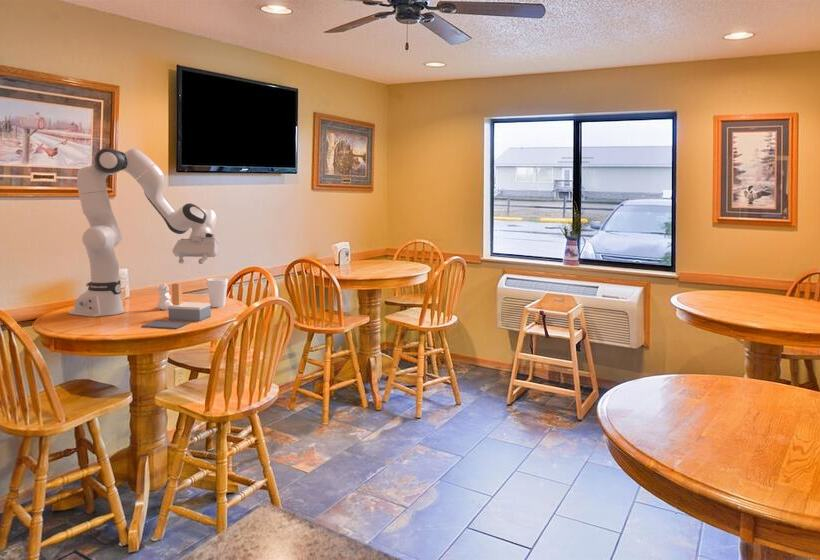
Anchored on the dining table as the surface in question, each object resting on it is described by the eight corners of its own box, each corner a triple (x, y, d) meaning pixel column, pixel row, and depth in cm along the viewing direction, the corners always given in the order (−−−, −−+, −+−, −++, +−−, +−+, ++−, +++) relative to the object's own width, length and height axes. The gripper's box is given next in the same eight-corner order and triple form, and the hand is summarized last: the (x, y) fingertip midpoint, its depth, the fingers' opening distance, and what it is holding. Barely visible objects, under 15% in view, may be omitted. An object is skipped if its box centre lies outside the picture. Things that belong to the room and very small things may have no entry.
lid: (168, 308, 252) (167, 285, 251) (180, 303, 262) (179, 281, 261) (199, 310, 250) (198, 286, 249) (210, 305, 260) (209, 282, 259)
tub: (168, 319, 253) (168, 308, 252) (180, 315, 263) (180, 303, 262) (199, 321, 251) (199, 310, 250) (210, 316, 261) (210, 305, 260)
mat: (141, 327, 239) (141, 325, 239) (156, 321, 250) (156, 319, 250) (176, 329, 237) (176, 327, 237) (190, 323, 248) (190, 321, 248)
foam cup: (232, 306, 285) (231, 279, 283) (216, 309, 277) (216, 281, 275) (219, 303, 290) (218, 277, 288) (203, 306, 282) (202, 279, 280)
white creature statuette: (180, 307, 279) (179, 282, 277) (170, 311, 270) (169, 285, 268) (162, 306, 280) (161, 281, 278) (151, 310, 272) (150, 284, 270)
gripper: (175, 234, 273) (165, 258, 265) (218, 234, 270) (209, 258, 262) (181, 243, 278) (171, 266, 270) (222, 243, 275) (214, 267, 267)
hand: (190, 262), depth 266 cm, fingers open, 8 cm apart
